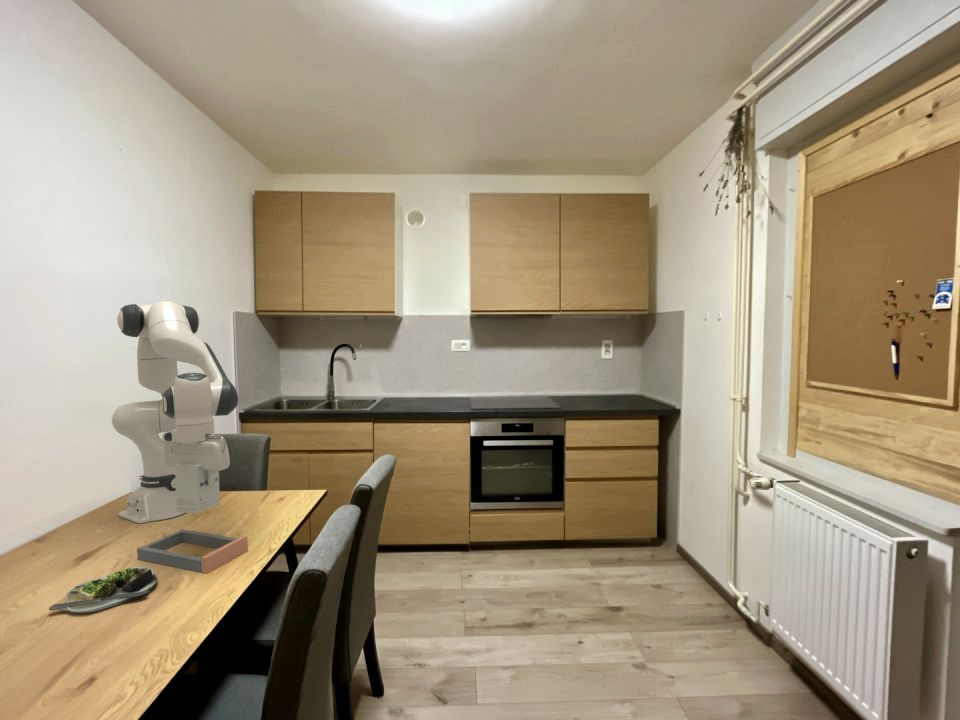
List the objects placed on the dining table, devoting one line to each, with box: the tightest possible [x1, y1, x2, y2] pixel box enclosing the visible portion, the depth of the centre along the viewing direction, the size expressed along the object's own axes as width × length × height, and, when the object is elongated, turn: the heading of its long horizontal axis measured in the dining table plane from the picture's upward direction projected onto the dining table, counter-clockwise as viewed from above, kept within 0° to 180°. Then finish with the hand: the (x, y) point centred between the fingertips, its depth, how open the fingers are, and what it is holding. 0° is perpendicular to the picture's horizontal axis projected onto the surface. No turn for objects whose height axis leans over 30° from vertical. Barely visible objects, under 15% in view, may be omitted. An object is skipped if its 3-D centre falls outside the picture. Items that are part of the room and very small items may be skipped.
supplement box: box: [175, 463, 221, 514], centre depth 123 cm, size 7×7×13 cm
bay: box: [136, 528, 249, 575], centre depth 126 cm, size 25×13×4 cm, turn 71°
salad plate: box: [48, 565, 158, 614], centre depth 107 cm, size 19×18×5 cm
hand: (198, 484), depth 123 cm, fingers closed on supplement box, 8 cm apart
